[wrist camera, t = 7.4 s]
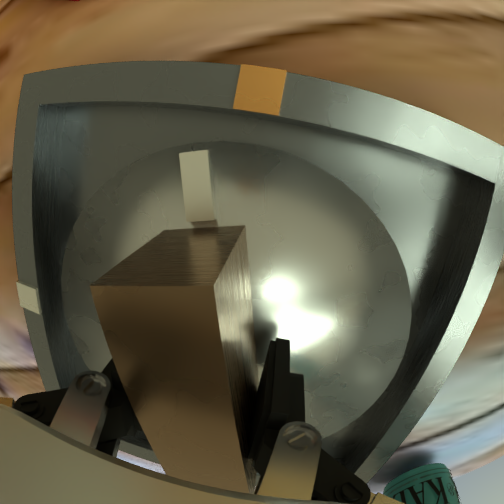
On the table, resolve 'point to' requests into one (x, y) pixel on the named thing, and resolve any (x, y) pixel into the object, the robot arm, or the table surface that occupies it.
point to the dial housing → (283, 139)
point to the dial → (233, 297)
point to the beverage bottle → (424, 486)
